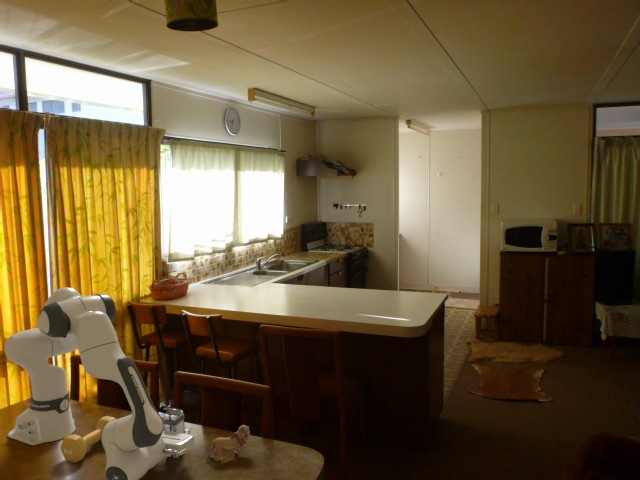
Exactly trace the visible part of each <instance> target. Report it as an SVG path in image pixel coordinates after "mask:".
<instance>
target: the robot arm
mask: <svg viewBox="0 0 640 480" xmlns="http://www.w3.org/2000/svg"><path fill="white" fill-rule="evenodd" d="M116 317H117V307H116V302H115V300H114V299H113V298H112V297H111V296H110V295H108V294H103V293H101V294H100V293H95V294H91V295H83V296H82V294H81V293H80V292H79V291H78V290H76V289H75V288H73V287H69V286H68V287H66V286H64V287H60V288H58V289H56V290H55V291H54V292H52V294H51V295H50V296H49V297H48V298H47V300H46V301H45V304H44V305H43V307H42V309H41V310H40V313H39V316H38V318H37V324H36V325H37V327H36V328H30V329H26V330H22V331H19V332H17V333H14V334H11V335H10V336H9V337H8V338H7V339H6V340H5V344H4V353H5V356H6V358H7V359H8V361H10V362H12V364H16V365H18V366H20V367H21V368H23V370H25V371H26V373H27V374H28V375H27V376H29V379H30V384H31V391H32V392H31V393H32V396H31V397H30V398H27V399H26V401H27V402H26V403H29V406H28V407H27V409H25V410H24V411H23V412H21V413H20V414H19V415H18V416H17V417H16V420H15V423H14V424H15V426H14V428H13V429H12V430H10V431H9V432H8V434H7V436H8V437H7V438H10V439H13V440H15V441H16V440H17V441H19V442H22V443H24V444H26V445H27V444H28V445H30V446H36V445H40V444H44V443H48V442H49V443H51V442H54V441H58V440H61V439H64V438H65V437H66V436H68V435H71V434H73V433H74V432H75V430H76V425H75V419H74V418H73V414H72V409H71V403H70V401H71V399H70V397H71V395H70V392H69V390H68V378H67V372H66V371H65V369H64V368H63V367H61V366H57V365H54V364H50V363H49V361H48V359H49V358H52V357H56V356H61V355H65V354H69V353H72V352H74V351H76V350H78V353H79V357H80V361H81V362H80V363H81V365H82V367H83V370H84V371H85V373H87V374H88V375H89V376H91V377H94V378H96V379H101V380H110V381H113V382H115V383H117V384H119V385H120V387H121V389H122V390H123V393H124V394H125V398H126V399H127V402H128V404H129V406H130V409H131V412H132V413H131V414H129V415H126V416H122V417H120V418H119V417H118V418H115V419H116V420H113V421H110V422H108V423H107V424H106V425H105V426H104V428H103V430H102V433H101V440H100V444H101V446H102V449H103V451H104V453H105V458H106V465H105V470H104V476H105V479H106V480H140V479H141V478H142V477H143V476H145V475H146V474H147V472H148V471H149V470H150V469H152V468H153V469H154V467H155V466H156V465H157V464H159V463H160V462H161V461H162V460H163V459H164V458H165V457H166V455H167V454H171V455H180V456H182V455H184V454H186V453H187V452H189V451H190V450H191V449H193V448H194V447H195V443H196V442H195V436H194V434H191V429H190V428H185V429H184V433H177V432H170V431H166V427H165V425H164V419H162V416H161V414H160V413H159V411H158V410H157V408H156V407H155V405H154V403H153V401H152V399H151V396H150V394H149V391H148V390H147V387H146V384H145V382H144V381H143V378H142V375H141V374H140V371H139V369H138V367H137V366H136V365H137V364H135V362H134V360H132V359H131V358H130V357H127V356H126V354H125V353H124V351H123V350H122V348H121V345H120V342H119V338H118V335H117V333H116V330H115V327H114V325H113V323H114V321H115V319H116Z"/></svg>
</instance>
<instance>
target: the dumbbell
mask: <svg viewBox="0 0 640 480" xmlns="http://www.w3.org/2000/svg"><path fill="white" fill-rule="evenodd" d="M116 419H117V418H116V417H114V416H109V415H105V416H102V417H100V418H99V419H98V421H97V423H96V425H95V430H93V431H91V432H89V433H87V434H86V435H84V436H83V437H82V436H81V435H78V434H73V433H72V434H70V435H68V436H66V437H64V438H62V439H63V440H62V441H61V444H60V451H61V453H62V456H63V458H64V460H65V461H67V462H68V463H73V464H75V463H79V462H80V461H82V460H83V459H84V458H85V456H86V453H87V450H88V447H90V446H91V445H93V444H95V443H96V442H98V441H101V433H102V430H103V428H104V426H105V425H106V424H107V423H108V422H110V421H113V420H116Z"/></svg>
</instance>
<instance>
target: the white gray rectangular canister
mask: <svg viewBox="0 0 640 480" xmlns="http://www.w3.org/2000/svg"><path fill="white" fill-rule="evenodd" d="M184 420H185V414H184V411H183V410H181V409H180V408H172V407H169V408H167V409H166V414H164V419H163V425H164V426H165V427H166V431H170V432H177V433H184V430H185V429H184V427H185V425H184ZM166 456H167V457H169V458H175V459H177V458H178V459H179V457H180V456H181V455H171V454H166Z"/></svg>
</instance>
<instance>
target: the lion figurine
mask: <svg viewBox="0 0 640 480" xmlns="http://www.w3.org/2000/svg"><path fill="white" fill-rule="evenodd" d="M250 435H251V431H250V426H247V425H245V424H242V425H240V426H239V427H238V430H237V431H236V432H234V434H232V435H231V436H229V437H221V436H219V437H216V438H214V439H213V440H212V442H211V444H210V448H209V453H208V457H207V458H206V459H205V460H206V461H209V460H210V458H212V459H213V458H215V454H214V452H217V454H216V456H217V459H218V460H219V461H221V462H222V461H224V457H222V456H221V453H222V450H223V448H224V449H227V450H230V449H234V453H235V454H237V456H238V457H239V458H242V457H243V454H242V447H243V446H246V444H247V442H248V440H249V439H250Z"/></svg>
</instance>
